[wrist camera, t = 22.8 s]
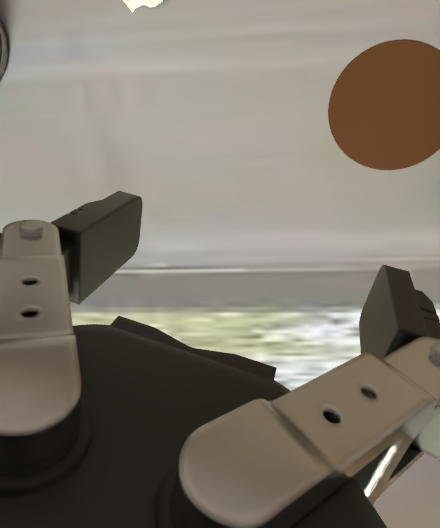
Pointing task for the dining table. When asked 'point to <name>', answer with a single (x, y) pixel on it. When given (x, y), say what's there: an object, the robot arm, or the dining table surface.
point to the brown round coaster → (388, 105)
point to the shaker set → (141, 3)
